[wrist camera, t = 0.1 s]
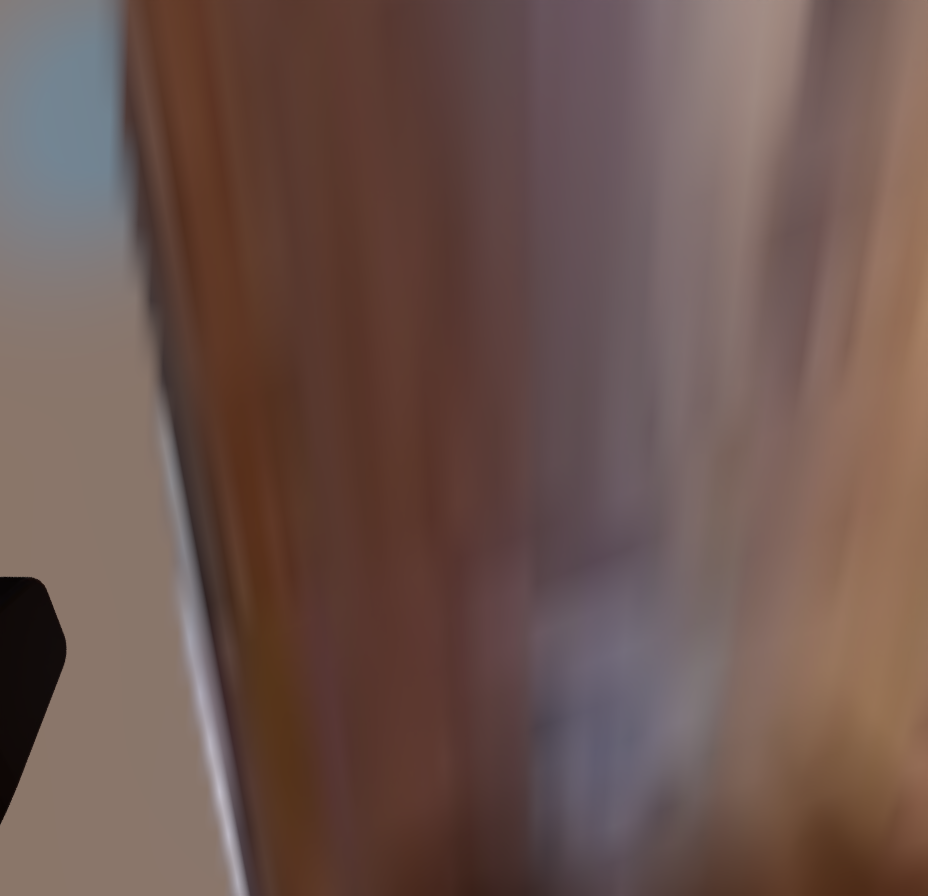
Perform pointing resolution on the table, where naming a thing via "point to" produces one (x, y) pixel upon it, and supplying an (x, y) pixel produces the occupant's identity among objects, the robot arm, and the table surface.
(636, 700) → the table surface
